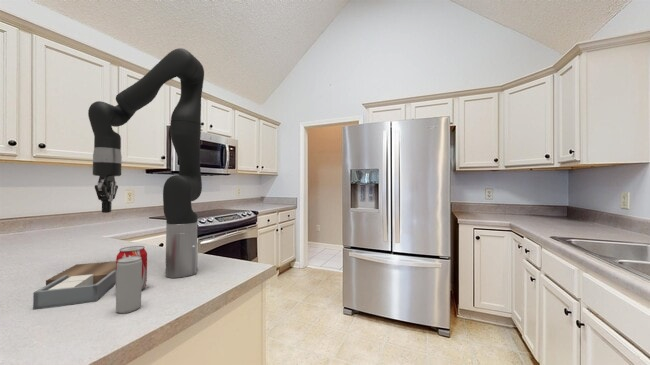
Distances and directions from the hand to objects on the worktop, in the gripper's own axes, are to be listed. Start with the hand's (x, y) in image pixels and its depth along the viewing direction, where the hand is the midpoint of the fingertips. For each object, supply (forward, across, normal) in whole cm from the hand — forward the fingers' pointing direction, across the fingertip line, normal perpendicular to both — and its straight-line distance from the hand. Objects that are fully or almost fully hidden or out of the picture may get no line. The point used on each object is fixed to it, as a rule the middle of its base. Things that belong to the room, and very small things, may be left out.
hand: (106, 212), depth 88 cm
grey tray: (+20, -20, -1) cm, 29 cm away
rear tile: (+20, -16, +1) cm, 26 cm away
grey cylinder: (+21, -35, -16) cm, 43 cm away
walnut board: (+20, -5, +1) cm, 21 cm away
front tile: (+20, -22, +1) cm, 29 cm away
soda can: (+21, -22, -13) cm, 33 cm away
